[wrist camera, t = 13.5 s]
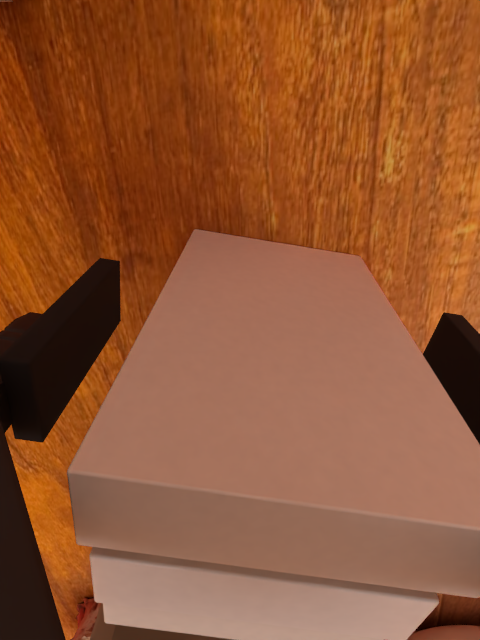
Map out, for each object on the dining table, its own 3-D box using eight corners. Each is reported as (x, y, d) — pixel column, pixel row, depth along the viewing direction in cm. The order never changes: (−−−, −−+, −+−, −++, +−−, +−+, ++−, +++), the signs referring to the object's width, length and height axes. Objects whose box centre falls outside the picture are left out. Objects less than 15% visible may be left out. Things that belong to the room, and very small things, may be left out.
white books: (187, 294, 22) (88, 556, 9) (339, 318, 22) (441, 603, 10) (180, 377, 25) (98, 656, 12) (313, 397, 25) (364, 688, 13)
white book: (193, 228, 20) (65, 471, 7) (360, 255, 20) (540, 538, 7) (190, 271, 21) (75, 546, 8) (346, 296, 21) (478, 599, 8)
